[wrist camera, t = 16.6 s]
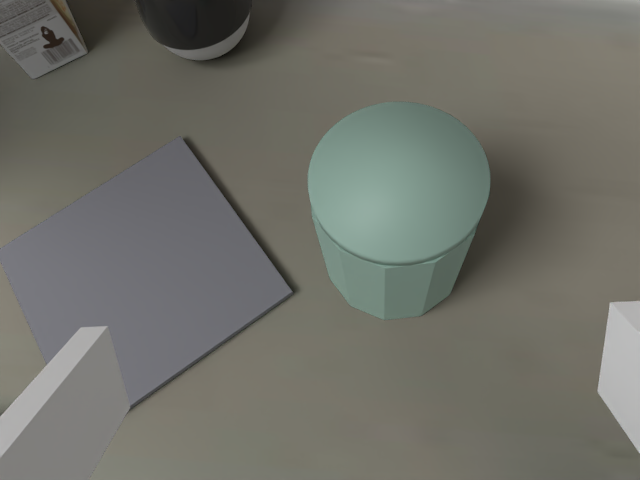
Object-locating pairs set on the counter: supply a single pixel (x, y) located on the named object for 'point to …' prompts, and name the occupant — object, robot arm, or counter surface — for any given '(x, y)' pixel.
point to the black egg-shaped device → (196, 25)
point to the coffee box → (39, 34)
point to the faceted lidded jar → (397, 205)
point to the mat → (145, 270)
